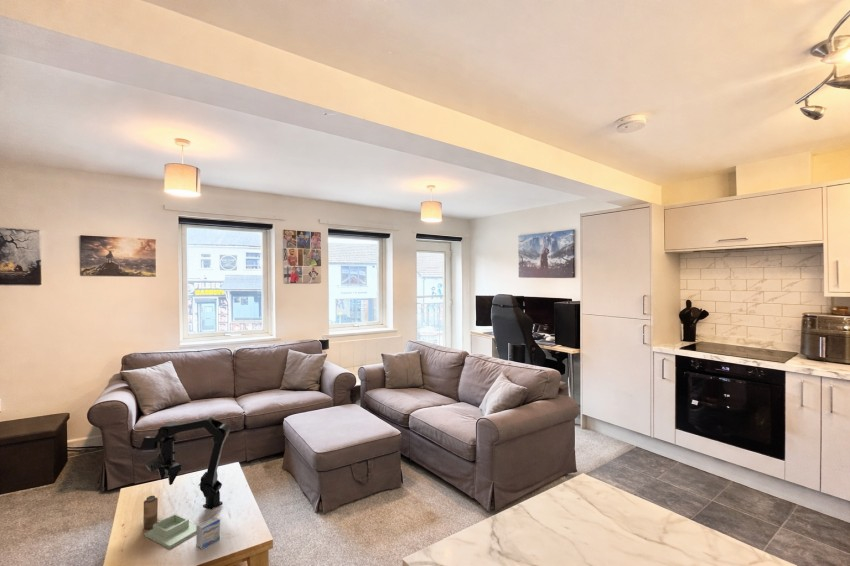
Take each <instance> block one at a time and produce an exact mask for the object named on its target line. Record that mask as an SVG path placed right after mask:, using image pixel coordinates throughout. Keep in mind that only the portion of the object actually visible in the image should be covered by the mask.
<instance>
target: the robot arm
mask: <svg viewBox="0 0 850 566" xmlns="http://www.w3.org/2000/svg"><path fill="white" fill-rule="evenodd" d="M199 429H205V430H206V431H207V432H208V433H209V434H210V435H211V436H213V437H212V441H213V442H212V443H213V447H212V450H211V455H210V459H209V462H208V467H207V471H205V472H204V473H203V474H202V476H201V477H200V482H199V485H198V486H199V490H200V491H201V492H202V494H203V496H204V498H205V503H204V504H202V507H204V508H205V509H208V510H213V509H215V508H217V507H219V506H220V505H223V501H221V492H220V490H221V488H222V486H223V483H222V482H221V481H219V480H218V476H219V475H218V468H219V467H218V466H219V464H220V459H221V456H222V452H223V449H224V448H223V447H224V444H225V442H226V439H227V438H228V436H229V434H230V432H231V426H230V425H229V424H227V423H223V422H222V421H221V420H216V419H214V418H213V417H211V416H207V417H205V418H199V419H194V420H189V421H184V422H183V421H182V422H178V421H170V422H169V421H168V422H167V423H164V424H163V425H162V426H160V427H159V429H158V430H157V434H156V435H155V436H154V435H153V436H150V435H146V436H144V437H143V439H142V442H141V445H140V451H141V452H156V451H157V450H158V449H159V451H158V452H157V455H156V456H155V457H153V458H152V459H150V460H149V461H147V462H146V463H145V464H144V465H145V467H146V469H147V470H148V471H149V472H150V473H152V472H154V471H155V470H157V471H158V475H159V478H160V480H164V478H165V476H166V475H167V478H168V484H169V486H172V485H173V483H174V481H175V479H176V478H177V475H178V474H179V472H181V471H182V470H183V465H182V464H181V463H178V462H176V459H175V458H174V456H175V455H174V454H176V450H174V448H175V447H174V446H175V444H174V443H175V442H176V441H177V440H179V436H177V435H176V434H179V433H182V432H188V431H193V430H199Z"/></svg>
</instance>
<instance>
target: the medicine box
mask: <svg viewBox="0 0 850 566" xmlns="http://www.w3.org/2000/svg"><path fill="white" fill-rule="evenodd" d="M196 525H197V526H196V534H195V535H196V536H195V537H196V541H195V542H196V543H195V545H196V546H197V547H198V548H200V549H202V548H203V549H204V547H205V548H206V547H208V546H211V544H214V543H215V542H217V541H219V540H220V538H221V519H220V518H218V517H217V516H213V517H211V518H209V519H207V520H205V521H203V522H200V523H199V524H196Z"/></svg>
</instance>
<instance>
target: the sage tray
mask: <svg viewBox="0 0 850 566" xmlns="http://www.w3.org/2000/svg"><path fill="white" fill-rule="evenodd" d="M197 525H198V524H195V523H193V522H190V519H189V518H186V517H185V516H183V515H180V514H178V513H174V514H172V515H169V516H168V517H165V518H164V519H162V520H160V521H157V523H156V524H154V525H153V529H150V530H147V531H146V532H145V533H144V537H146V538H148V539H151V541H154V542H156V543H158V544H159V545H161V546H163V547H166V548H168V549H169V548H170V549H172V548H174V547H175V545H176V546H177V545H180V544H181V543H182V541H183V542H184V541H186V540H187V538H188V539H189V538H191V537H193V536H195V535H196V526H197ZM194 534H195V535H194ZM192 535H193V536H192ZM173 546H174V547H173Z"/></svg>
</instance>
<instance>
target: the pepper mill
mask: <svg viewBox="0 0 850 566" xmlns="http://www.w3.org/2000/svg"><path fill="white" fill-rule="evenodd" d="M158 500H159V499H158V497H156V496H155V495H150V496H148V497H146V499H145V500H144V501H143V516H142V517H143V524H142V525H143V527H142V529H143V530H144V531H150V530H152V529H153V525H154V524H156V523H158V508H159V507H158V504H159V503H158V502H159V501H158Z"/></svg>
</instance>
